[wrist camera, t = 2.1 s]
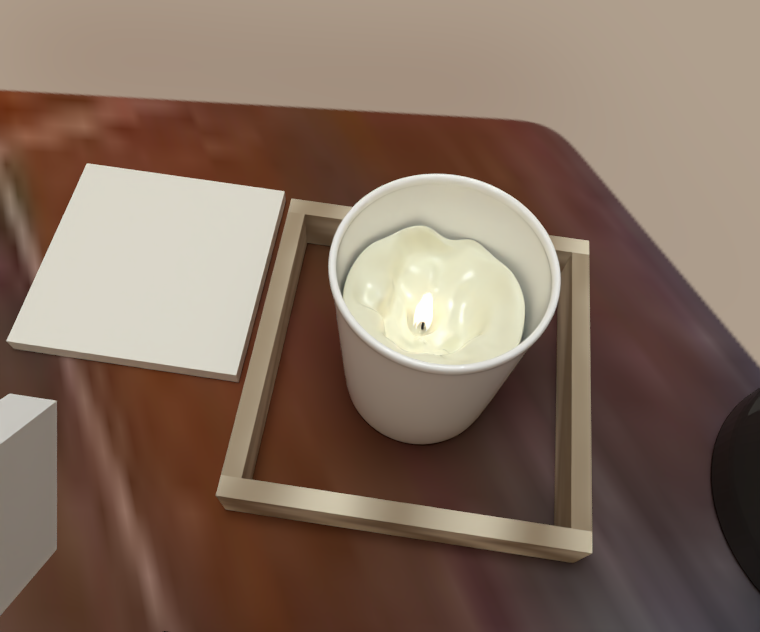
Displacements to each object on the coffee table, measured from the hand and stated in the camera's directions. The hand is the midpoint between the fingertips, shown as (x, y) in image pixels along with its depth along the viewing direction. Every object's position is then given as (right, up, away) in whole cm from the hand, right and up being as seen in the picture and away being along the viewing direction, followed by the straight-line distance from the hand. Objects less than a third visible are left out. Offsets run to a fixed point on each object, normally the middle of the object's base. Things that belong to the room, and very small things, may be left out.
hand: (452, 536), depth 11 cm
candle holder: (+1, 0, +28) cm, 28 cm away
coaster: (-15, +6, +31) cm, 34 cm away
